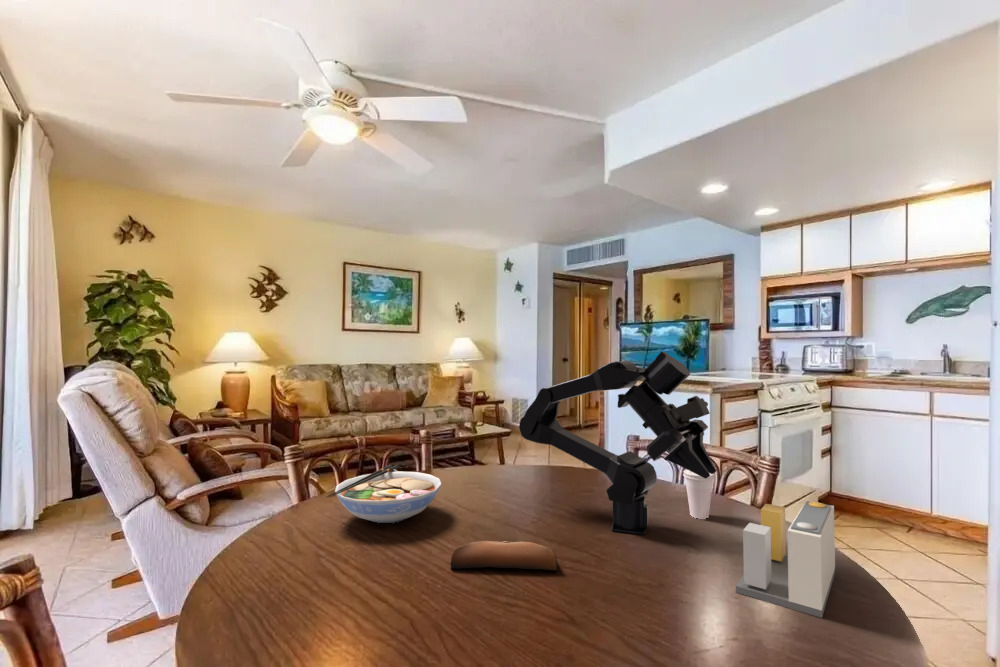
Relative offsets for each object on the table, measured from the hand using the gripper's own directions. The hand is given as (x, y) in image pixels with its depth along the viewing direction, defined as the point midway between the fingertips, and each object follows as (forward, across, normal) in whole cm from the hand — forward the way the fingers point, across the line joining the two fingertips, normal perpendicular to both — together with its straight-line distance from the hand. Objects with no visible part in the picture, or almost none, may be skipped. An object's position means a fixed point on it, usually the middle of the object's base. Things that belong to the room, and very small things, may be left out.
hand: (711, 474), depth 91 cm
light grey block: (+16, -12, +1) cm, 20 cm away
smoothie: (+5, +16, +15) cm, 22 cm away
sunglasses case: (-9, -28, +29) cm, 41 cm away
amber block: (+16, 0, +1) cm, 16 cm away
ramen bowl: (-32, -27, +52) cm, 67 cm away
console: (+19, -6, 0) cm, 20 cm away
